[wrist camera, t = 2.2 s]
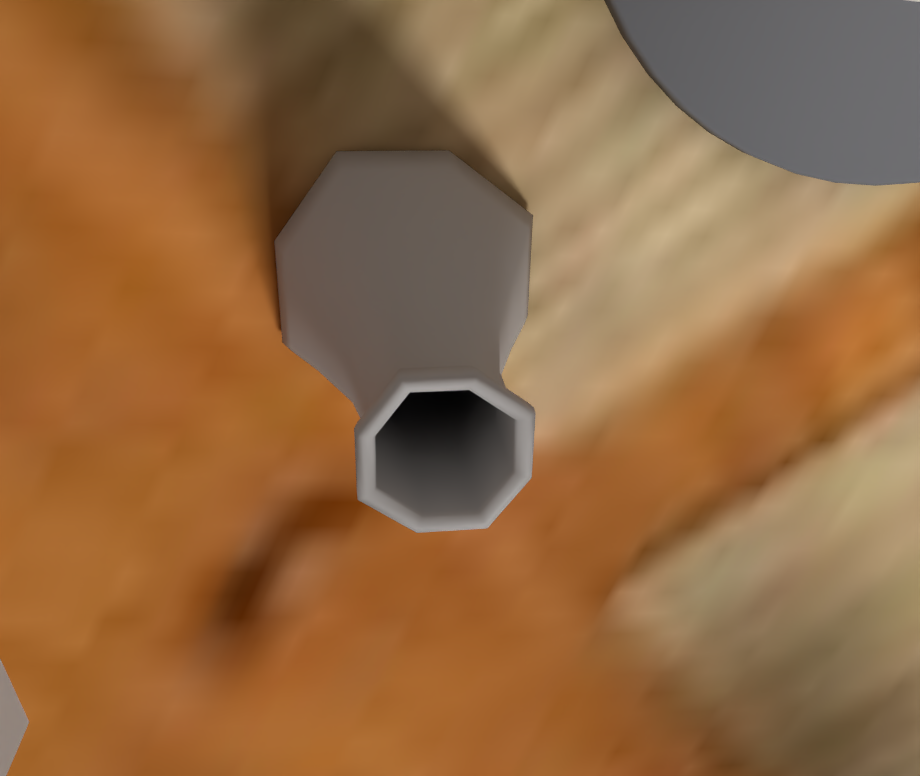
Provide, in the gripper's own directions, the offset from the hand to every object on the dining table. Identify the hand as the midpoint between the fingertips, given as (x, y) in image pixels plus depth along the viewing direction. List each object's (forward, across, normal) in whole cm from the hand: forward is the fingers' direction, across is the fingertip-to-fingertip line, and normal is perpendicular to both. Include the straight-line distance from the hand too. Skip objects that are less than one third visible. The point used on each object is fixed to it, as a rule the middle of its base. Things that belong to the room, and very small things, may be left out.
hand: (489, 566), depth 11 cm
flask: (+14, 0, 0) cm, 14 cm away
